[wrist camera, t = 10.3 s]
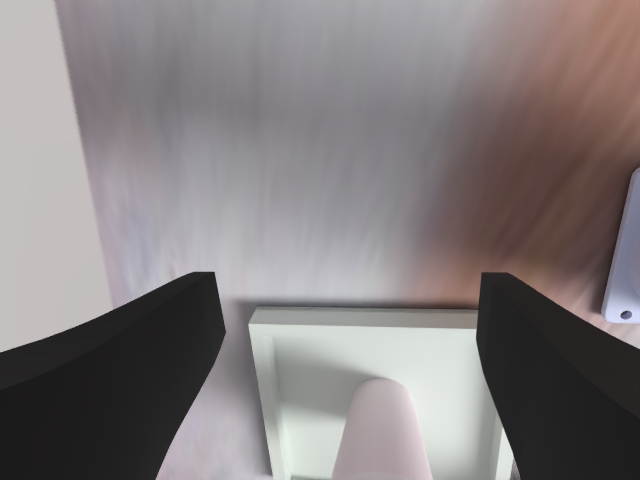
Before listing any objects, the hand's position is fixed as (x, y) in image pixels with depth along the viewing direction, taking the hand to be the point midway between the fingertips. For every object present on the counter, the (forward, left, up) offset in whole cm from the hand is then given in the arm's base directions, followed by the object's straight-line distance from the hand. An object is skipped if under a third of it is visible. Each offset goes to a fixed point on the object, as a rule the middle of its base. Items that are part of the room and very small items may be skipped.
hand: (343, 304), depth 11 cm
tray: (-1, +14, -10) cm, 17 cm away
